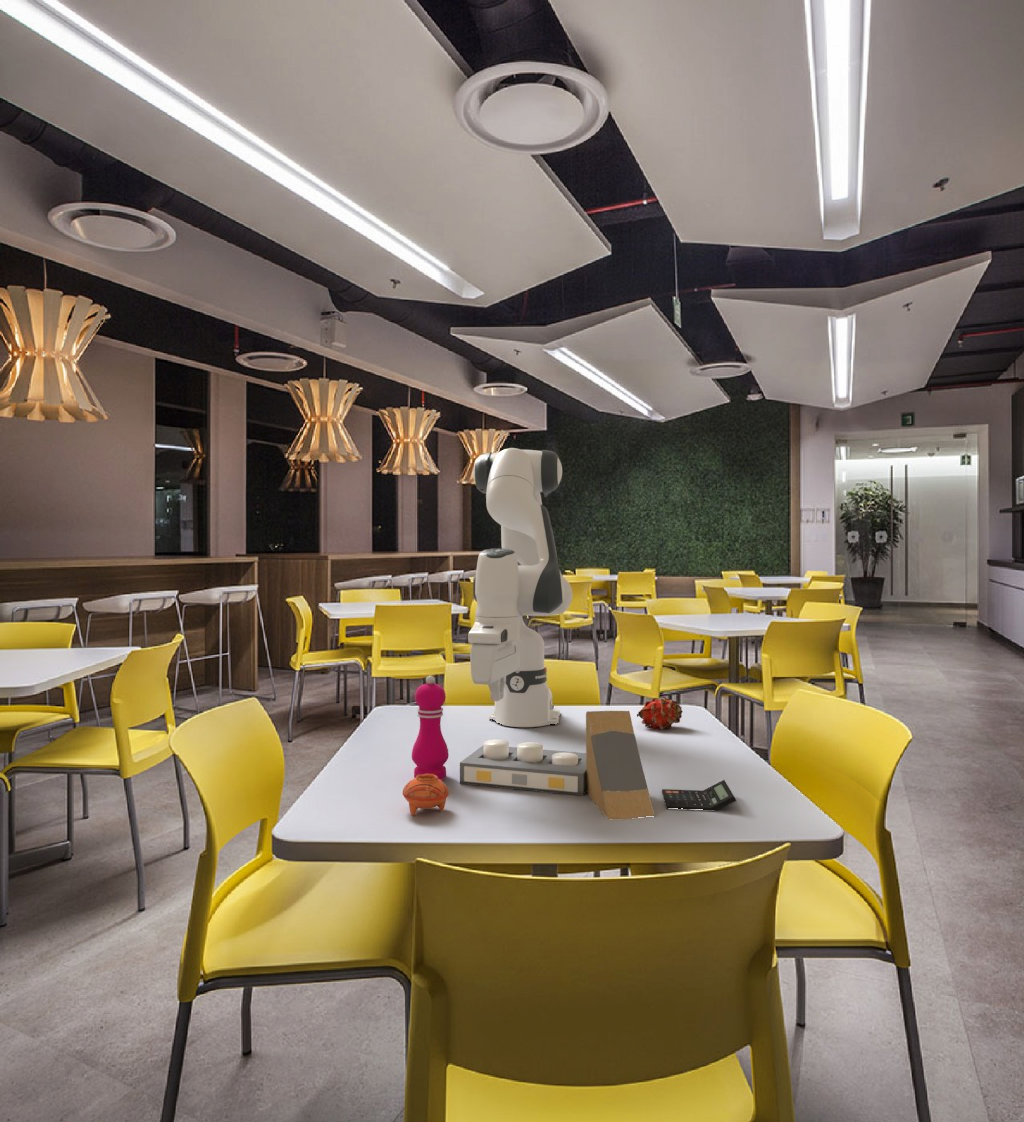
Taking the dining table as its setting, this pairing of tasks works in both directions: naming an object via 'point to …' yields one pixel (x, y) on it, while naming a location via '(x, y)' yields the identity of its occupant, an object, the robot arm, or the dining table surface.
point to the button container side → (565, 759)
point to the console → (525, 773)
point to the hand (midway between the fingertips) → (497, 700)
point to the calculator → (699, 797)
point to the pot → (425, 793)
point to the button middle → (530, 752)
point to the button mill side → (496, 749)
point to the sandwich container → (615, 766)
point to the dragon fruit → (660, 713)
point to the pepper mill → (430, 731)
